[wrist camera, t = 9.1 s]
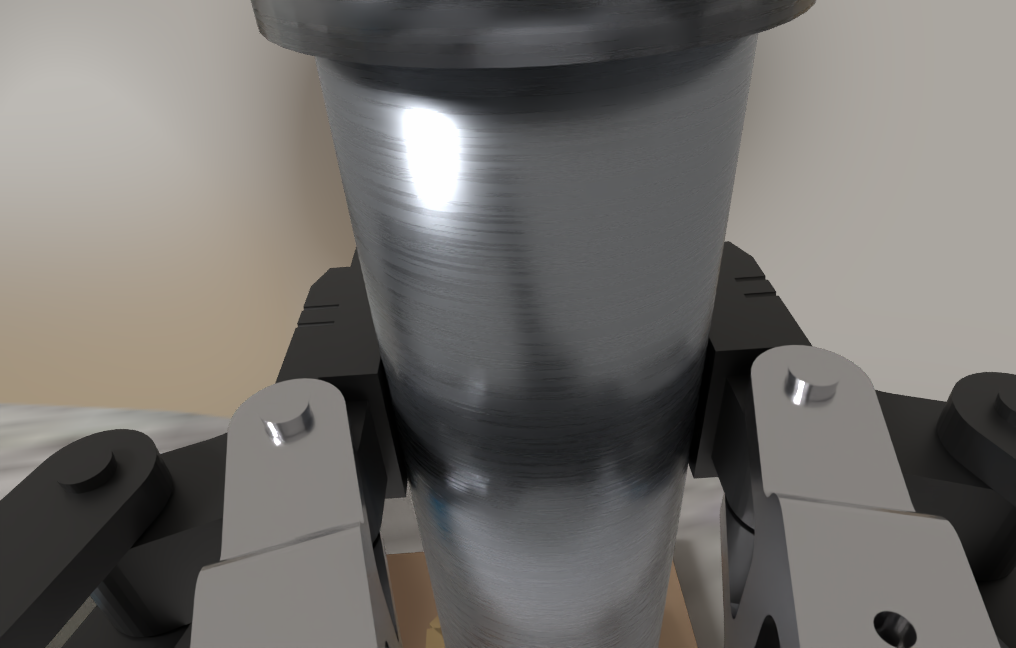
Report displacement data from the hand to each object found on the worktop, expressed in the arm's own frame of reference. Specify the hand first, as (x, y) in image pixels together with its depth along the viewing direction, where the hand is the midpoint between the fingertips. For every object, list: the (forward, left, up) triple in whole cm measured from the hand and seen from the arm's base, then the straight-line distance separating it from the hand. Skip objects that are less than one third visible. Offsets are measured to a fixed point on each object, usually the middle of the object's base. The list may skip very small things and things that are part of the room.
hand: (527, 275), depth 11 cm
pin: (0, -3, -8) cm, 8 cm away
